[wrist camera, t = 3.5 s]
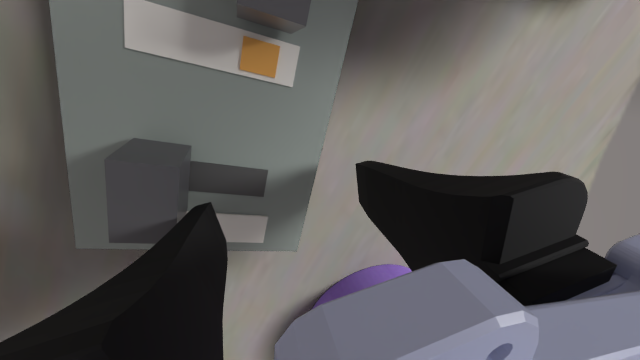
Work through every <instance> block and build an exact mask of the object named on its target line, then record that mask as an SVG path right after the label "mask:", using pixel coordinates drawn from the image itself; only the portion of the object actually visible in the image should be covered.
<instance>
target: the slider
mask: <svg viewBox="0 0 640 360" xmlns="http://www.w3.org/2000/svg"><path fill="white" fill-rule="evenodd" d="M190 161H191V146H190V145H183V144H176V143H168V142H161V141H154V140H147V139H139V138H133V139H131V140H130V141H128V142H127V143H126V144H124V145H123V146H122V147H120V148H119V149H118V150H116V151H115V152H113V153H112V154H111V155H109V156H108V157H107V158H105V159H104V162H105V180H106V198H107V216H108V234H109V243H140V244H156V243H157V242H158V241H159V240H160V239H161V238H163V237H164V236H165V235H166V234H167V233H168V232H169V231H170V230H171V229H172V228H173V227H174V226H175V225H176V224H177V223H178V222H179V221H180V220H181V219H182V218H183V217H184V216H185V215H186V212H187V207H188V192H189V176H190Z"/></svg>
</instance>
